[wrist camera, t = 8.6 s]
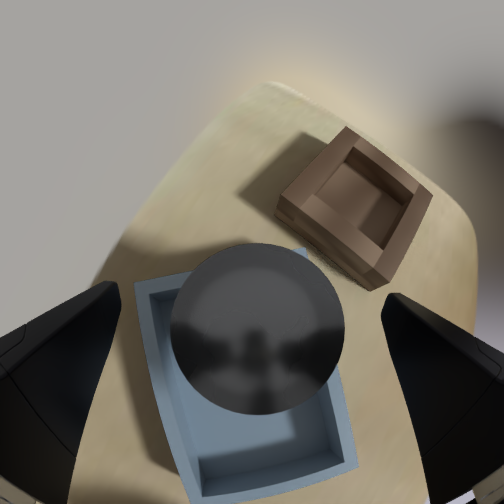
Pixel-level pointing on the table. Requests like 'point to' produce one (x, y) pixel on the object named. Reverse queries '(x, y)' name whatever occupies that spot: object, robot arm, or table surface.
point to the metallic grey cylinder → (257, 329)
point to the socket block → (356, 208)
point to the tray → (238, 422)
